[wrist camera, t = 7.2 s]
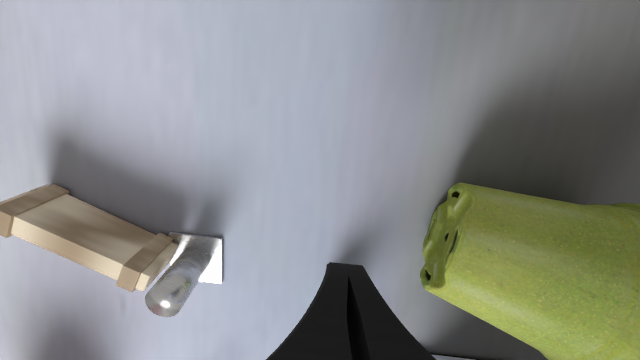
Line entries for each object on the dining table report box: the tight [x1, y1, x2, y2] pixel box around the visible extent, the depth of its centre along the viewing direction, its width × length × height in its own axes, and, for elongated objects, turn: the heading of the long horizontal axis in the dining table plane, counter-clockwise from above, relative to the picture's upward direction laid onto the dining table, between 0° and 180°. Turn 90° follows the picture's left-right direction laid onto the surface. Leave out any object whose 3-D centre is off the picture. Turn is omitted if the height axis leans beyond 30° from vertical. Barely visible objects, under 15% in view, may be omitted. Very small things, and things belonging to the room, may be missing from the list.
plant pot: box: [420, 183, 640, 360], centre depth 16 cm, size 9×9×9 cm
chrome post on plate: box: [145, 232, 223, 317], centre depth 19 cm, size 4×4×4 cm
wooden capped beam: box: [0, 184, 178, 292], centre depth 19 cm, size 9×2×4 cm, turn 62°
